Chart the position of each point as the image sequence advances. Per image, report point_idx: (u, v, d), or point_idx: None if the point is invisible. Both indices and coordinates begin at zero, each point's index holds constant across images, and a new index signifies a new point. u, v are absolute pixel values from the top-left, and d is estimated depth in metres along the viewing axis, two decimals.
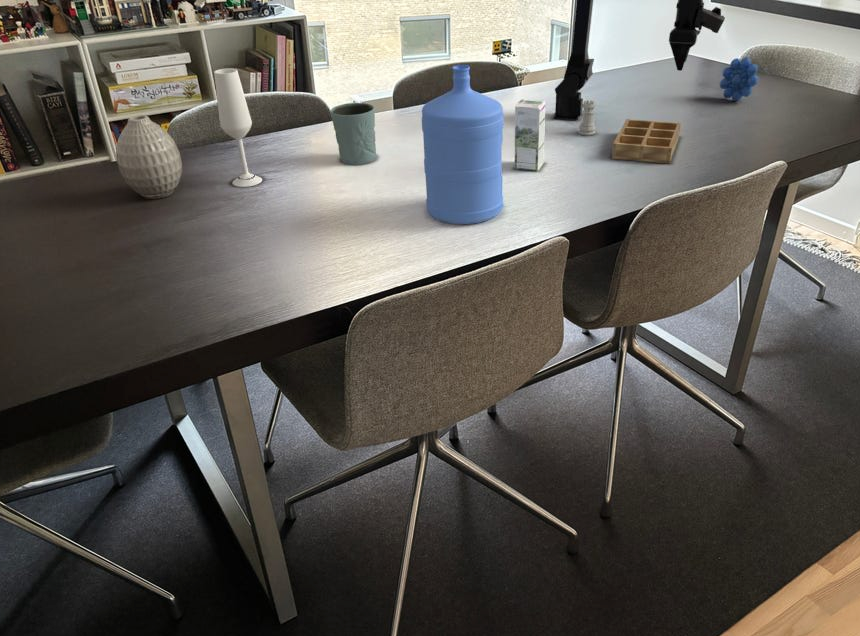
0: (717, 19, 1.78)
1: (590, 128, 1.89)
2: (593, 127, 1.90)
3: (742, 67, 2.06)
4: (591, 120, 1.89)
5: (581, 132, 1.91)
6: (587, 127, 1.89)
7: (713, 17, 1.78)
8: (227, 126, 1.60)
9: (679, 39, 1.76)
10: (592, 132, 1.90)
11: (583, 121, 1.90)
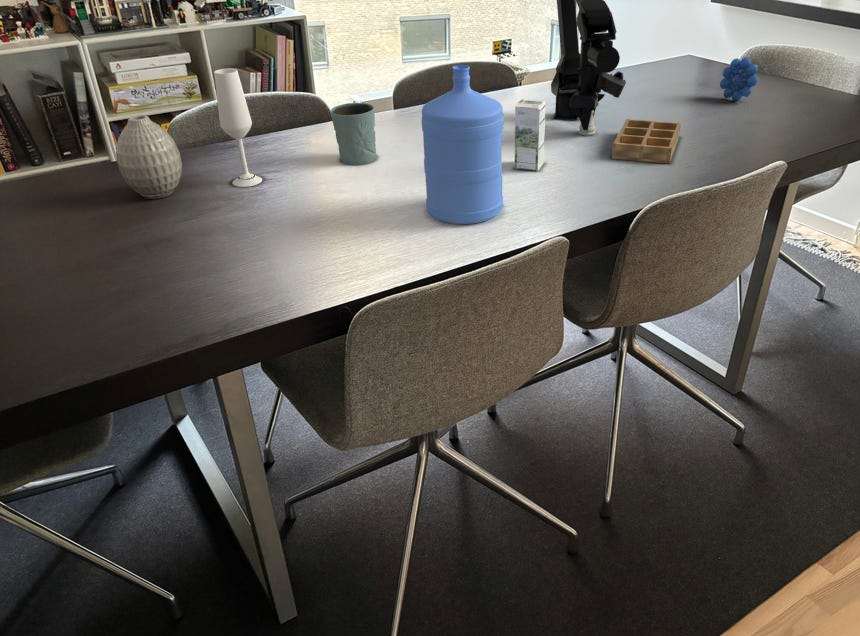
0: (617, 85, 1.81)
1: (590, 128, 1.89)
2: (593, 127, 1.90)
3: (742, 67, 2.06)
4: (591, 120, 1.89)
5: (581, 132, 1.91)
6: None
7: (613, 83, 1.81)
8: (227, 126, 1.60)
9: (579, 105, 1.79)
10: (592, 132, 1.90)
11: None
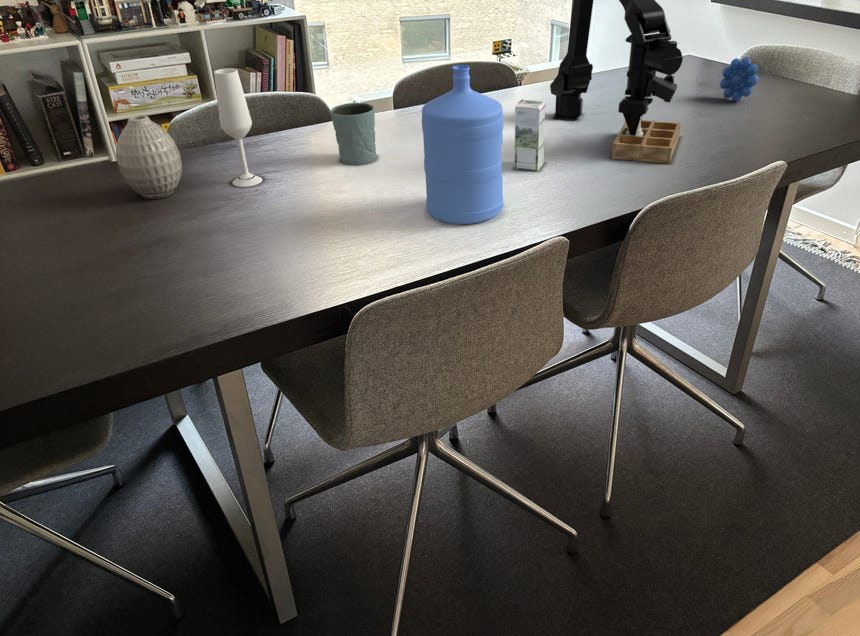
0: (668, 89, 1.71)
1: (638, 134, 1.79)
2: (641, 133, 1.80)
3: (742, 67, 2.06)
4: (639, 126, 1.79)
5: None
6: None
7: (664, 87, 1.71)
8: (227, 126, 1.60)
9: (629, 110, 1.70)
10: None
11: None
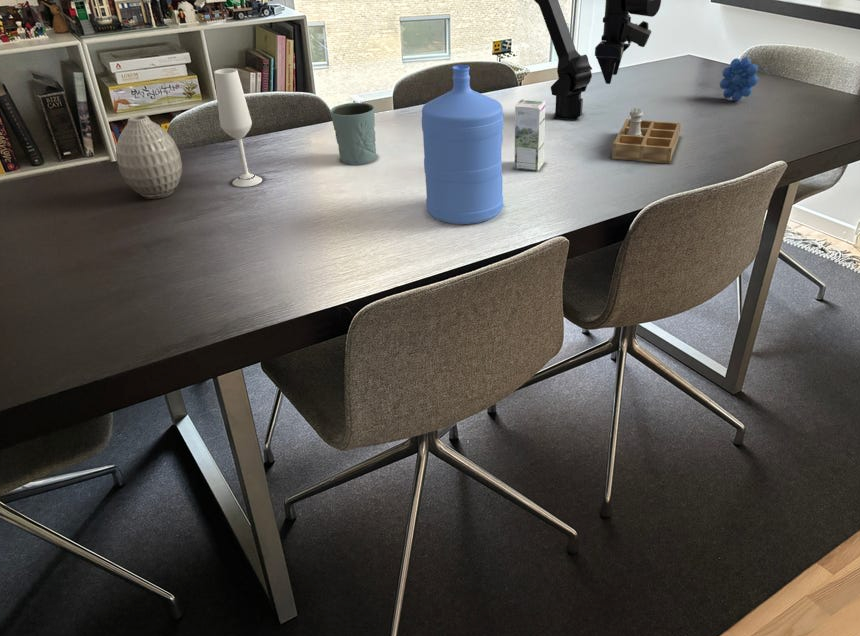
0: (642, 33, 1.79)
1: None
2: None
3: (742, 67, 2.06)
4: (638, 129, 1.80)
5: None
6: None
7: (638, 31, 1.79)
8: (227, 126, 1.60)
9: (604, 53, 1.78)
10: None
11: (630, 130, 1.80)
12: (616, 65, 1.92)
